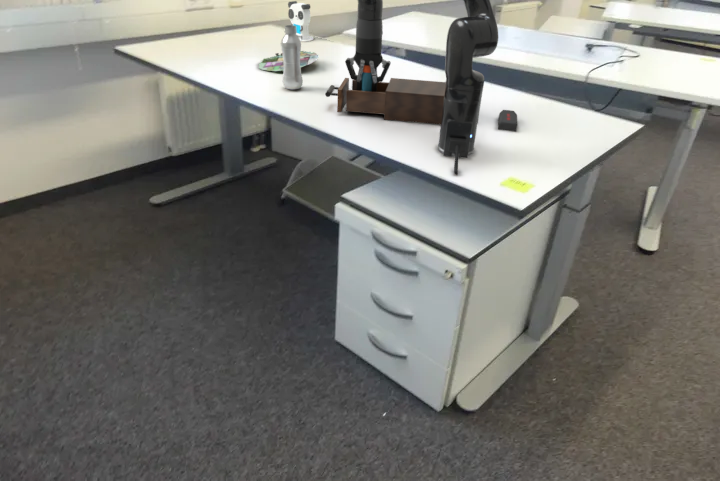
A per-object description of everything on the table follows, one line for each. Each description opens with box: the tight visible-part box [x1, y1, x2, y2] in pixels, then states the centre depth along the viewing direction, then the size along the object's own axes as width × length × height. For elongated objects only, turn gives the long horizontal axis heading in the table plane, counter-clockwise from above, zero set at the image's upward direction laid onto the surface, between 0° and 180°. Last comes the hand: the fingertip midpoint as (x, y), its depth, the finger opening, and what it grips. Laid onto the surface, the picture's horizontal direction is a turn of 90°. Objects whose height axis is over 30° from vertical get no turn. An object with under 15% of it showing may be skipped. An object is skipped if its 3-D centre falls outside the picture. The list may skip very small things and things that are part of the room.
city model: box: [258, 50, 319, 72], centre depth 205 cm, size 25×23×6 cm
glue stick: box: [361, 65, 373, 92], centre depth 163 cm, size 4×4×12 cm
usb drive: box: [497, 109, 518, 132], centre depth 161 cm, size 5×12×3 cm, turn 167°
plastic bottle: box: [280, 24, 304, 90], centre depth 178 cm, size 6×7×20 cm
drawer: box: [325, 77, 389, 115], centre depth 165 cm, size 22×12×7 cm, turn 81°
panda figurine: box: [287, 0, 314, 43], centre depth 240 cm, size 12×11×15 cm
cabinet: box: [383, 77, 446, 126], centre depth 163 cm, size 19×14×9 cm
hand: (366, 93), depth 165 cm, fingers closed on glue stick, 3 cm apart
